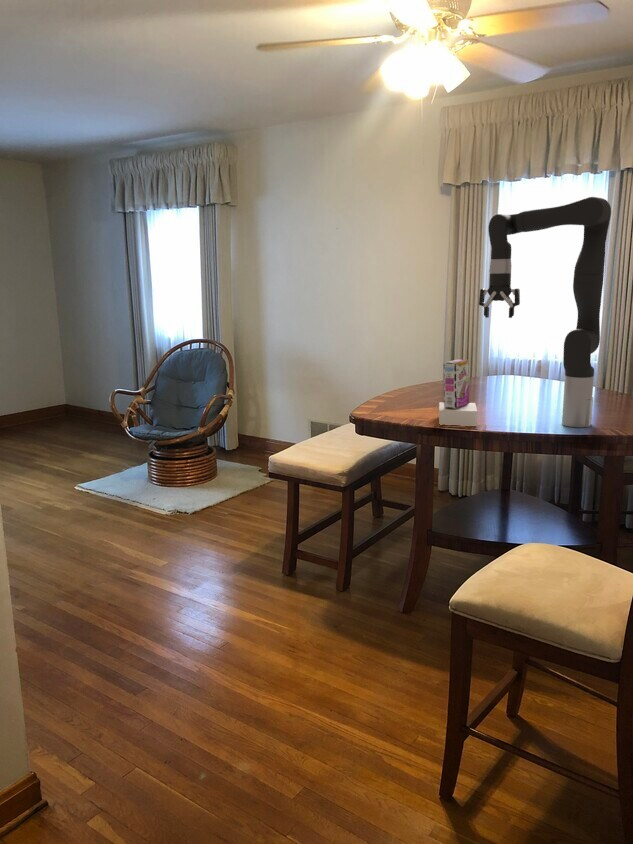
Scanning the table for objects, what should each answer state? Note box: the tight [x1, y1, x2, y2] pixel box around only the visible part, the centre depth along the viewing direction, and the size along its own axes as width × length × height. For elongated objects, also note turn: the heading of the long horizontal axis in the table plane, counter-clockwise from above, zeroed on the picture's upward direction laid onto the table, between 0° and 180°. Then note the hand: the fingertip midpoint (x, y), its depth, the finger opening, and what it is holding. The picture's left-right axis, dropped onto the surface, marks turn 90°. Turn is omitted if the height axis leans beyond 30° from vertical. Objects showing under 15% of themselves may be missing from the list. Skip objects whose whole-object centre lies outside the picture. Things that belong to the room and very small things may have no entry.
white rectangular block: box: [438, 401, 478, 427], centre depth 237 cm, size 13×15×6 cm
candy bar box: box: [443, 359, 470, 409], centre depth 234 cm, size 11×5×16 cm, turn 143°
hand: (498, 317), depth 240 cm, fingers open, 8 cm apart
